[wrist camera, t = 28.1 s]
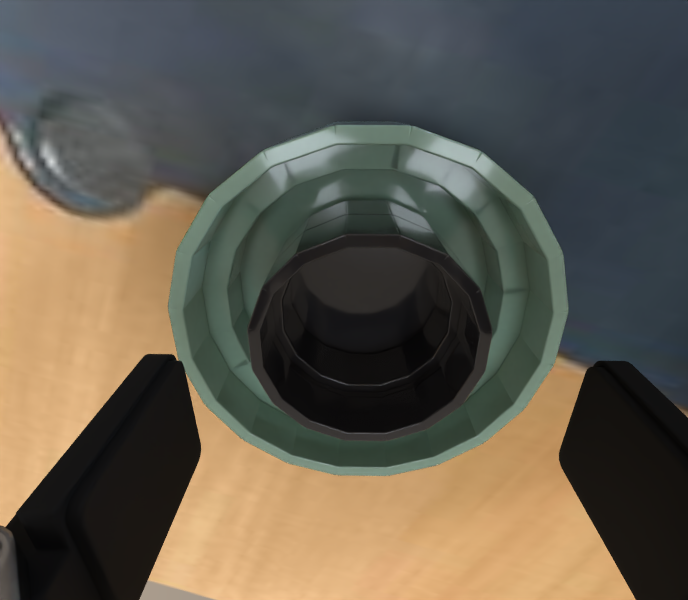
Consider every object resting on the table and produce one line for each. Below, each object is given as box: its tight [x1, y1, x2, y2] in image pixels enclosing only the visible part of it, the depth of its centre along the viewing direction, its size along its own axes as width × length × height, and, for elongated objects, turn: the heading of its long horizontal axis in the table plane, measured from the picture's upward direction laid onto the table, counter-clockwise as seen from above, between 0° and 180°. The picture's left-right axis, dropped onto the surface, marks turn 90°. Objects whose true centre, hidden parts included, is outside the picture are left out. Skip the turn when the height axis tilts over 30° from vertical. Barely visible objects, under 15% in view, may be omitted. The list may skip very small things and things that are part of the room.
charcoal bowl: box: [247, 200, 493, 441], centre depth 15 cm, size 7×7×5 cm
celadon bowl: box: [168, 121, 569, 476], centre depth 15 cm, size 13×13×4 cm
